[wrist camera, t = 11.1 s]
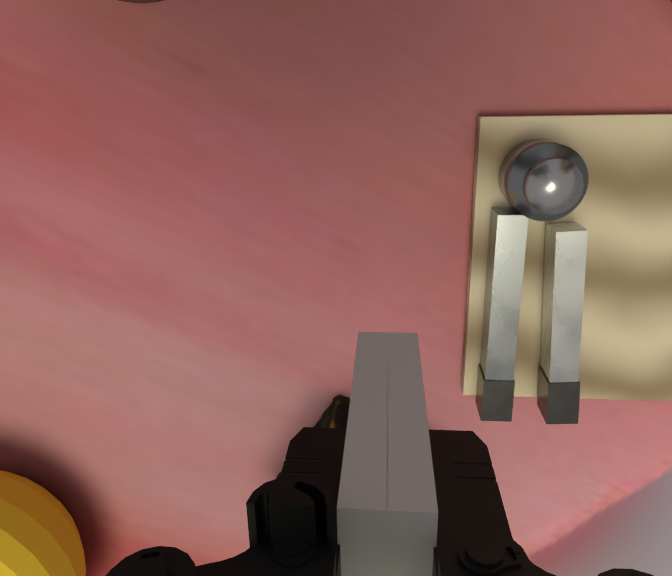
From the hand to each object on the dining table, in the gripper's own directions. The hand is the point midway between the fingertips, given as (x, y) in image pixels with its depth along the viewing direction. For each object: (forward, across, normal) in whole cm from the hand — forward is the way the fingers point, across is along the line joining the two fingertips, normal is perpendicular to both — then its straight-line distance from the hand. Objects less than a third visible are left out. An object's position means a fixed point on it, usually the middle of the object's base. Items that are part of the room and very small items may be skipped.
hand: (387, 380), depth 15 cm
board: (+24, +14, -4) cm, 28 cm away
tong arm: (+23, +10, -5) cm, 26 cm away
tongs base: (+23, +9, -5) cm, 25 cm away
